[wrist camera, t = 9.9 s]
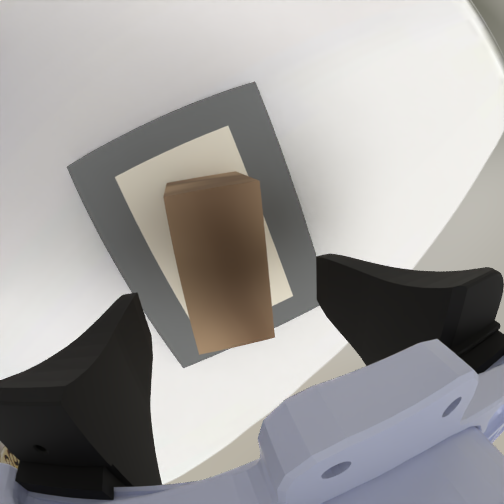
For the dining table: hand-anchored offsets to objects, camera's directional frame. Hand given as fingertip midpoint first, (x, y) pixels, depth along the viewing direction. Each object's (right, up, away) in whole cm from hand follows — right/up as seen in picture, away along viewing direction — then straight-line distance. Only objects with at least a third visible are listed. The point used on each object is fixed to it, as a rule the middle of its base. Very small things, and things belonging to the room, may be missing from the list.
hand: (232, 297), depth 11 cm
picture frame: (-2, +3, +7) cm, 8 cm away
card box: (-2, +2, +6) cm, 7 cm away
